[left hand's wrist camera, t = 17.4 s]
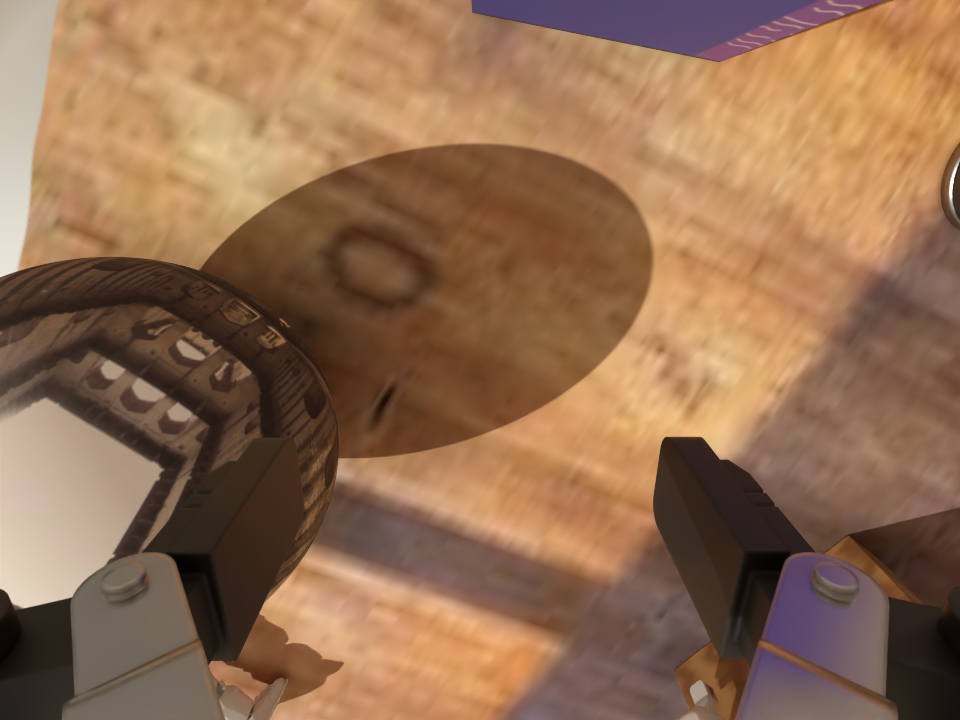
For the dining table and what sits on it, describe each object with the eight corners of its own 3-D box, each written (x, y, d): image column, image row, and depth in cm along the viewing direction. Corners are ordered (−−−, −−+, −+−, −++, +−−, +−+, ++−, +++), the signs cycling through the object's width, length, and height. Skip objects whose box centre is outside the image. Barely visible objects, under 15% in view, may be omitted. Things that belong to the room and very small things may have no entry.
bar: (848, 534, 52) (914, 603, 44) (881, 561, 53) (952, 632, 45) (673, 669, 59) (704, 750, 51) (706, 690, 60) (741, 772, 52)
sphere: (24, 388, 46) (-443, 631, 23) (168, 159, 39) (-291, 169, 16) (267, 541, 52) (95, 856, 29) (428, 366, 45) (374, 594, 22)
